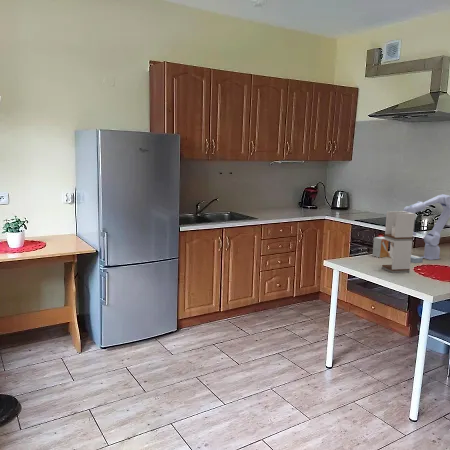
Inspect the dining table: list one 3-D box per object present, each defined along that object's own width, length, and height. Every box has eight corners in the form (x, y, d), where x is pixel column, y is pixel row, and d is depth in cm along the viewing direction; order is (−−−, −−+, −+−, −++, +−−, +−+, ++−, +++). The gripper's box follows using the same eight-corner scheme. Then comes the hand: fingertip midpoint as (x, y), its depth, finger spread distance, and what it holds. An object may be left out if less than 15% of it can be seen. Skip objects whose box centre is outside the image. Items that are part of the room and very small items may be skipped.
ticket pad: (407, 257, 294) (407, 253, 293) (422, 262, 282) (422, 257, 281) (399, 258, 291) (399, 253, 291) (414, 263, 279) (414, 258, 279)
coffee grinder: (398, 267, 267) (403, 211, 261) (409, 272, 257) (415, 213, 251) (381, 268, 264) (386, 211, 259) (392, 272, 254) (397, 213, 248)
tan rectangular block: (389, 255, 299) (389, 250, 299) (396, 257, 293) (397, 253, 292) (384, 255, 298) (385, 251, 297) (391, 258, 291) (392, 253, 291)
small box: (379, 258, 291) (381, 239, 289) (372, 256, 296) (373, 237, 294) (387, 256, 295) (389, 238, 293) (379, 254, 300) (381, 236, 298)
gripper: (395, 222, 295) (393, 242, 297) (411, 226, 282) (409, 246, 284) (403, 222, 297) (401, 241, 300) (419, 225, 284) (417, 246, 286)
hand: (405, 244), depth 292 cm, fingers closed
